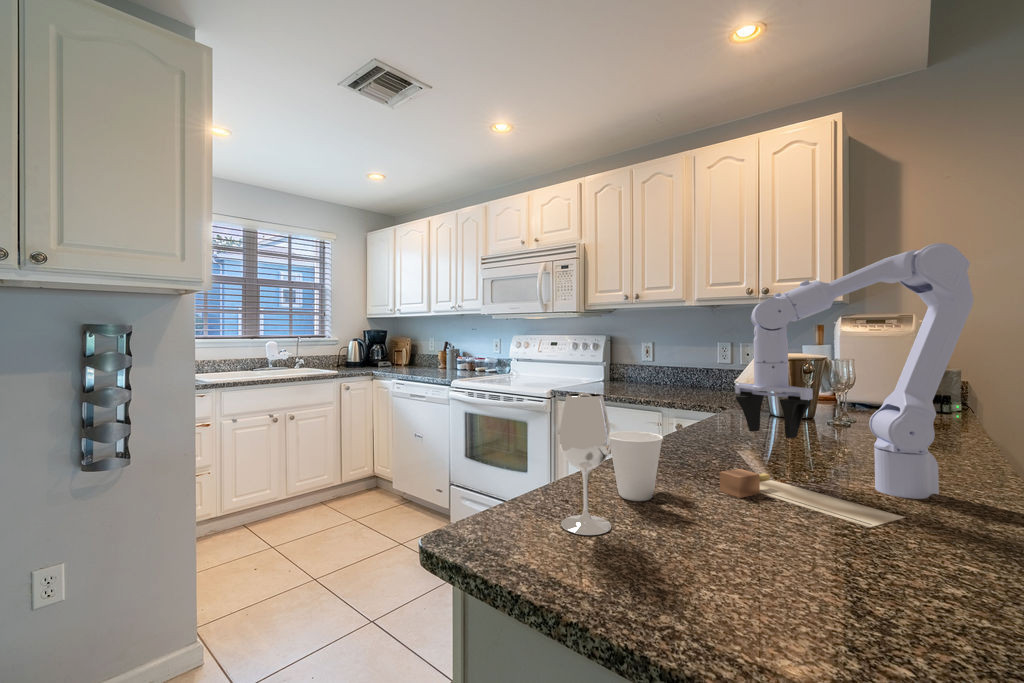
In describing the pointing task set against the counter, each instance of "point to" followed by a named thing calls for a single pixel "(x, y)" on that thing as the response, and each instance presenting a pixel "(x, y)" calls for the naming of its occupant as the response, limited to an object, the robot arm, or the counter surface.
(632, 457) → the cup
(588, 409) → the wineglass
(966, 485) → the counter surface
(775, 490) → the board
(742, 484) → the block
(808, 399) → the robot arm
